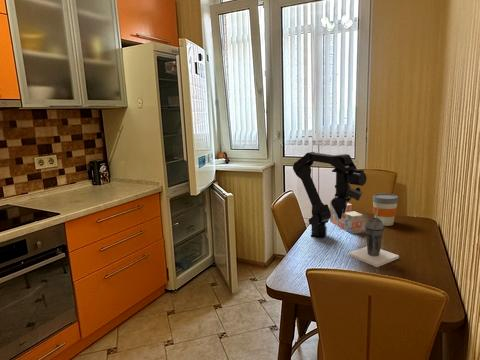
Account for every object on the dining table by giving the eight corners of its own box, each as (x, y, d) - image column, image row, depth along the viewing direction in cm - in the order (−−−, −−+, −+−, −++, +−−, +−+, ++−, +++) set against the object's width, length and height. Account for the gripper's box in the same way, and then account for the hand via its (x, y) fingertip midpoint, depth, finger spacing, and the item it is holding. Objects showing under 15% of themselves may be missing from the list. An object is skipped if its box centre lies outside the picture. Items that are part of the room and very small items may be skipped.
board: (348, 255, 146) (348, 252, 146) (370, 247, 153) (370, 245, 153) (376, 267, 134) (376, 264, 134) (398, 258, 141) (398, 255, 141)
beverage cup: (360, 252, 145) (362, 206, 141) (372, 249, 148) (375, 204, 145) (373, 259, 139) (376, 211, 135) (386, 255, 142) (389, 208, 138)
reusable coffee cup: (399, 222, 186) (401, 195, 183) (392, 228, 177) (393, 200, 174) (376, 218, 194) (377, 192, 191) (368, 224, 185) (369, 196, 182)
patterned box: (362, 232, 173) (363, 209, 170) (351, 234, 171) (352, 210, 169) (339, 220, 193) (340, 199, 191) (329, 221, 191) (329, 200, 189)
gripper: (358, 188, 143) (357, 224, 146) (364, 179, 159) (363, 212, 162) (331, 186, 148) (330, 221, 151) (339, 178, 164) (338, 210, 167)
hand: (341, 216), depth 157 cm, fingers open, 9 cm apart
